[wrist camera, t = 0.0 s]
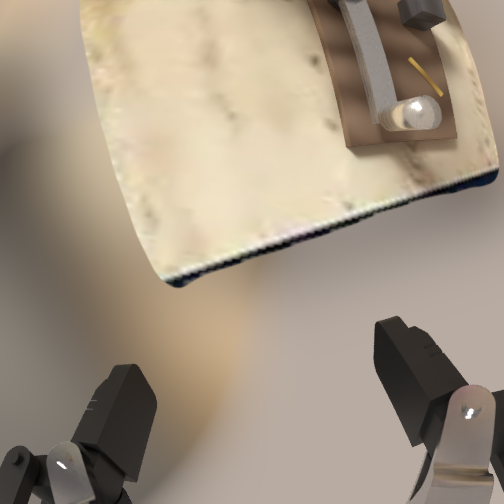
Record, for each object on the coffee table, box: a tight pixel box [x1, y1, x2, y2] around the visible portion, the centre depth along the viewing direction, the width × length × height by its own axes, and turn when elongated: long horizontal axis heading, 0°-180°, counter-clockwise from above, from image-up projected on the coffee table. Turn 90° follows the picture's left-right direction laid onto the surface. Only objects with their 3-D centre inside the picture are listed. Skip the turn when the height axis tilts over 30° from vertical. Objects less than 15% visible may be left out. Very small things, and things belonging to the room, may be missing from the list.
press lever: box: [327, 0, 442, 132], centre depth 22 cm, size 22×4×12 cm, turn 12°
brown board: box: [307, 0, 457, 147], centre depth 26 cm, size 25×18×8 cm
